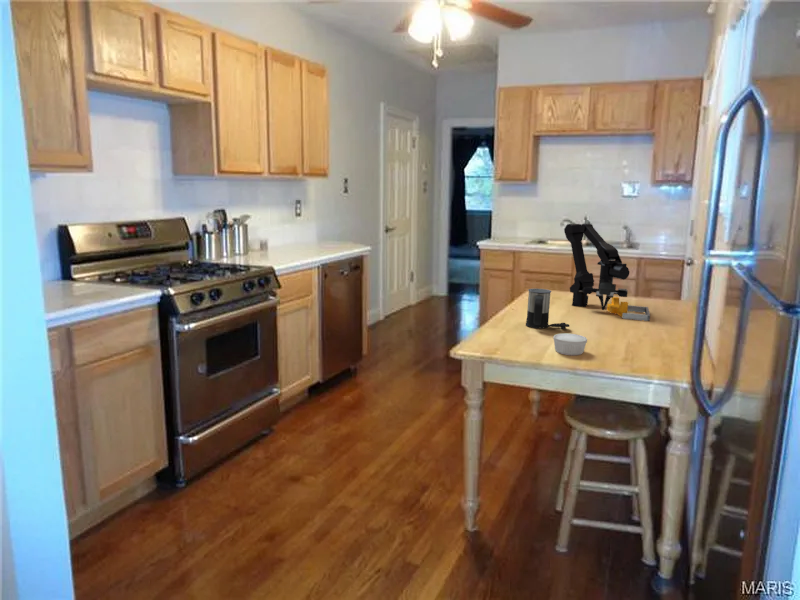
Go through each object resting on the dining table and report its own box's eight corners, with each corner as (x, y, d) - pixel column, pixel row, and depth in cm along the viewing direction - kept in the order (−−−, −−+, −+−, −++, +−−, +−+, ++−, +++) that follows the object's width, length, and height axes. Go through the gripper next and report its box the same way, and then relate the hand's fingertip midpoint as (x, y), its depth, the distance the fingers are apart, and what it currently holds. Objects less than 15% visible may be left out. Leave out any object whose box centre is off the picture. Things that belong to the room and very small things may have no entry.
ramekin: (548, 347, 211) (549, 332, 210) (578, 347, 212) (580, 333, 211) (558, 356, 200) (559, 341, 199) (590, 356, 201) (592, 341, 200)
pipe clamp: (606, 310, 272) (608, 296, 271) (616, 310, 272) (617, 297, 271) (617, 316, 260) (618, 302, 259) (626, 317, 260) (628, 302, 259)
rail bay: (622, 318, 257) (622, 312, 256) (621, 310, 273) (622, 304, 273) (649, 321, 253) (650, 315, 252) (647, 312, 270) (648, 307, 269)
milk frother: (522, 323, 245) (525, 287, 242) (560, 323, 246) (563, 288, 243) (532, 332, 231) (535, 294, 228) (572, 332, 232) (575, 295, 229)
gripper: (583, 276, 260) (580, 311, 263) (629, 280, 253) (625, 315, 257) (585, 273, 270) (582, 306, 273) (628, 276, 264) (625, 310, 267)
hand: (603, 310), depth 267 cm, fingers closed
